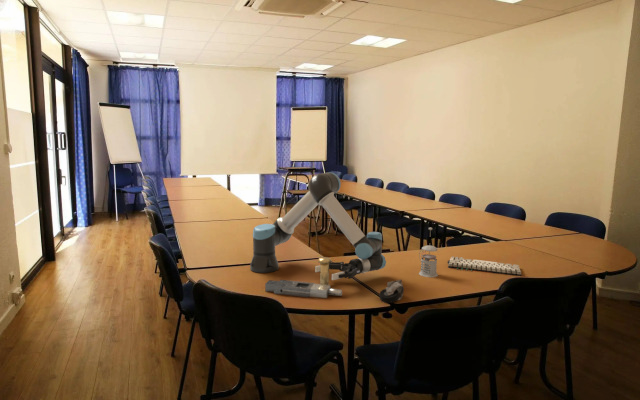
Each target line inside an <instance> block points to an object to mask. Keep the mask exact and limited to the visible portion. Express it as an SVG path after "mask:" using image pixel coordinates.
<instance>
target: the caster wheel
mask: <svg viewBox="0 0 640 400" xmlns="http://www.w3.org/2000/svg"><path fill="white" fill-rule="evenodd" d="M386 284H387V286H386V287H385V288H384V289H382V290H381V291H380V292H379V298H380V301H381V302H382V303H386V304H391V303H395V302H397V301H400V300H401V299H402V298H403V296H404V291H405V289H404V285H403V281H402V279H397V280H392V281H388V282H386Z"/></svg>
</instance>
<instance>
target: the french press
mask: <svg viewBox="0 0 640 400" xmlns="http://www.w3.org/2000/svg"><path fill="white" fill-rule="evenodd" d="M428 230H429V236H431V232H432V230H433V227H428ZM438 250H439V249H438V248H437V247H436V246H434V245H431V244H429V245H424V246H422V247H421V250H420V251H419V253H418V254H419V255H418V258H419V261H420V262H421V265H420V271H419V273H418V275H420V276H421V277H424V278H425V277H426V278H437V277H438V276H439V274H438V273H437V268H438V267H437V264H438V259H437V256H436V255H435V254H431V252H437V251H438ZM426 252H428V253H427V254H426ZM421 253H425V254H421ZM420 255H421V256H420Z"/></svg>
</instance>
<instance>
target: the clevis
mask: <svg viewBox="0 0 640 400" xmlns="http://www.w3.org/2000/svg"><path fill="white" fill-rule="evenodd" d="M264 287H265V292H271V293H273V294H274V295H285V296H292V297H293V296H294V297H303V298H304V297H305V298H311V297H312V298H322V299H327V298H328V296H336V297H342V295H343V289H340V288H331V285H330V284H329V285H323V284H320V283H316V282H309V281H308V282H307V281H298V280H287V279H280V280H268V281H266V283H265V284H264Z"/></svg>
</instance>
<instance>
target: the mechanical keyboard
mask: <svg viewBox="0 0 640 400" xmlns="http://www.w3.org/2000/svg"><path fill="white" fill-rule="evenodd" d="M447 264H448V266H447V269H449V270H454V271H455V270H456V271H463V272H465V271H466V272H472V273H473V272H475V273H483V274H484V273H485V274H493V275H495V274H496V275H505V276H506V275H507V276H517V277H522V271H521V269H520V265H519V264H512V263H504V262H497V261H490V260H481V259H470V258H464V257H461V256H460V257H459V256H451V257H450V259H449V260H447Z"/></svg>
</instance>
